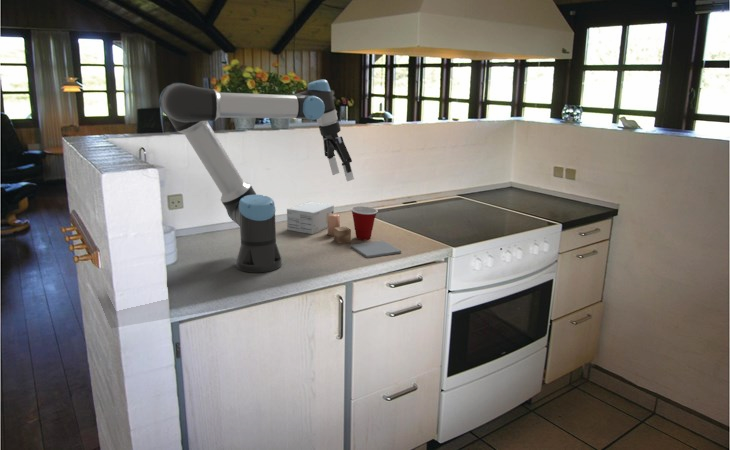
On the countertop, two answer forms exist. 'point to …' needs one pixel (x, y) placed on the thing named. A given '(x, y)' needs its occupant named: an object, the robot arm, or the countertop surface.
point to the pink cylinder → (333, 223)
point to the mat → (375, 249)
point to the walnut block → (342, 234)
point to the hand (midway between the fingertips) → (343, 177)
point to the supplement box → (309, 217)
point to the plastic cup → (363, 221)
